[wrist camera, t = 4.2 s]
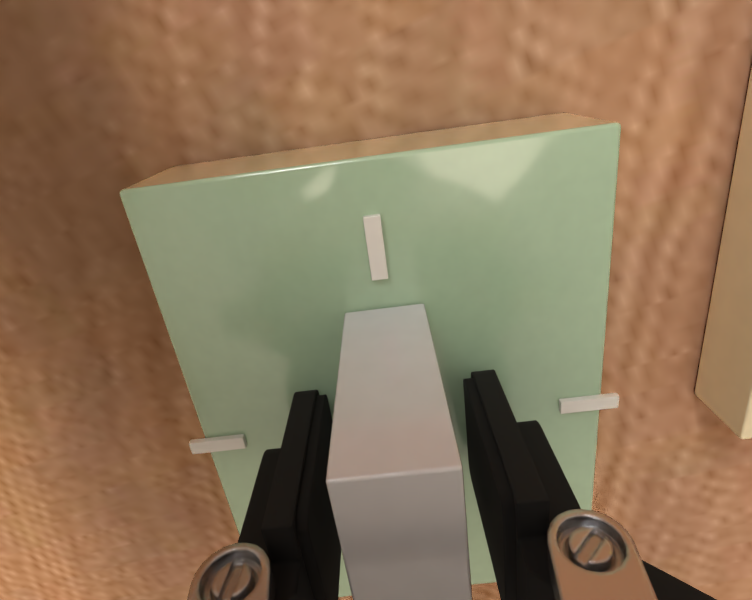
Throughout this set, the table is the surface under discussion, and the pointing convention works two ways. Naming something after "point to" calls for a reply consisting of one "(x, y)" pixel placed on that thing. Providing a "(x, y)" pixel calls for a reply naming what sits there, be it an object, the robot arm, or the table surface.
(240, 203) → the base
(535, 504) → the robot arm
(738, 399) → the beige button housing
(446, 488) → the red-tabbed grey block
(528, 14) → the table surface
